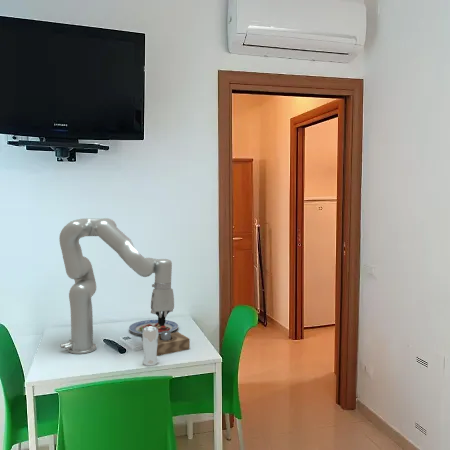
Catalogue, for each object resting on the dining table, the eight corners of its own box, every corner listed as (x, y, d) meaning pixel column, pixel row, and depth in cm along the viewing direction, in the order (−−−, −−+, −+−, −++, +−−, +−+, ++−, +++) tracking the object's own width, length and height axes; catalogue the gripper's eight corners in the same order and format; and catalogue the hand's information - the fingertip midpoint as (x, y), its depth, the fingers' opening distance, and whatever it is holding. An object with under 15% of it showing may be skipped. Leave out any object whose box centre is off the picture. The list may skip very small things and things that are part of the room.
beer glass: (159, 360, 196) (159, 326, 194) (157, 366, 189) (157, 331, 188) (143, 360, 195) (143, 326, 194) (141, 366, 188) (140, 331, 187)
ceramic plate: (172, 321, 255) (172, 316, 254) (183, 335, 230) (183, 329, 230) (126, 325, 246) (126, 320, 246) (132, 340, 222) (132, 334, 222)
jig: (153, 356, 199) (153, 344, 199) (143, 348, 210) (142, 336, 209) (189, 349, 209) (189, 337, 209) (177, 341, 219) (177, 330, 219)
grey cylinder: (163, 351, 206) (163, 334, 206) (159, 348, 210) (159, 331, 209) (172, 349, 209) (172, 332, 208) (168, 346, 212) (168, 330, 212)
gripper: (150, 288, 201) (149, 329, 202) (181, 286, 209) (179, 325, 210) (144, 285, 207) (143, 324, 209) (173, 283, 215) (172, 321, 217)
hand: (161, 324), depth 209 cm, fingers closed
